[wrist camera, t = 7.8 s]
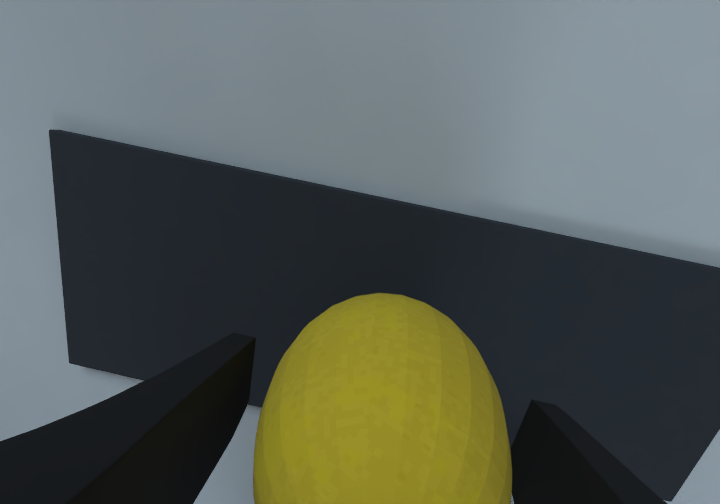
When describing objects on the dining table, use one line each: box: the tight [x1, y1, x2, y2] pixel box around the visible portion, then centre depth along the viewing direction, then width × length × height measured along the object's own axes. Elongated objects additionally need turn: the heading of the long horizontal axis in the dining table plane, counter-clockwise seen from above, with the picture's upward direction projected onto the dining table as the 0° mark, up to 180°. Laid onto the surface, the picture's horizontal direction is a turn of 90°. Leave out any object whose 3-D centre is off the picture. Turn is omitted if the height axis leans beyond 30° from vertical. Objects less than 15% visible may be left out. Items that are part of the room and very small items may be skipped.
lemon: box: [253, 293, 512, 504], centre depth 8 cm, size 6×6×8 cm
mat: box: [49, 130, 720, 501], centre depth 12 cm, size 9×24×1 cm, turn 79°
